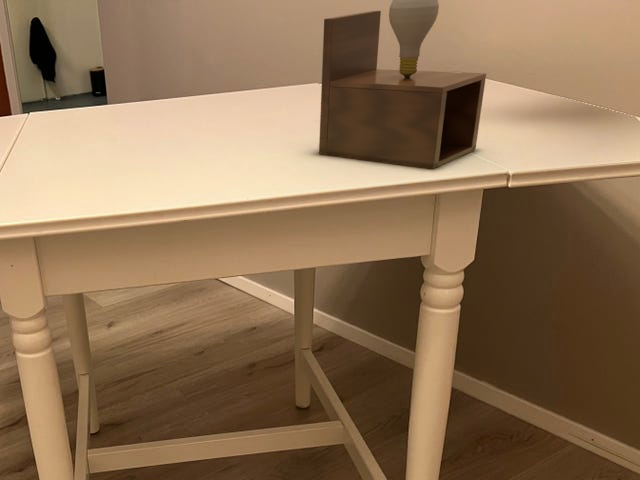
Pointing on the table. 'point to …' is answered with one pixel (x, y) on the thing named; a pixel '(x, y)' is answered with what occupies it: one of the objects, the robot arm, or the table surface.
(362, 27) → the shelf
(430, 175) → the table surface
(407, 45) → the light bulb
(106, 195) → the table surface
